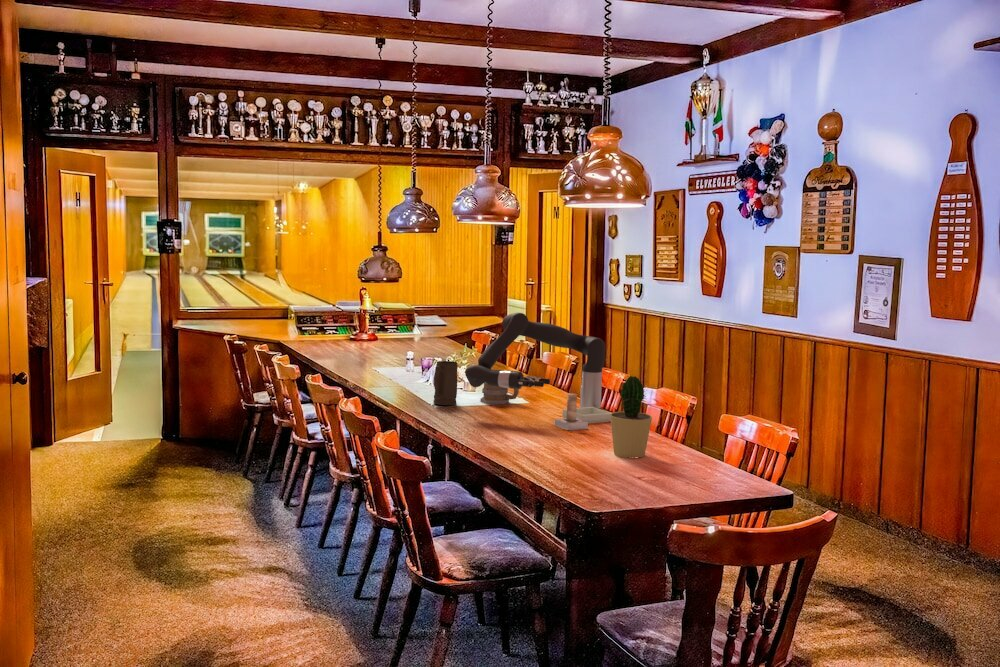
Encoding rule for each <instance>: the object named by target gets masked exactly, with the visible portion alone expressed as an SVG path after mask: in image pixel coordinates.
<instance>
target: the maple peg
mask: <svg viewBox="0 0 1000 667" xmlns="http://www.w3.org/2000/svg"><path fill="white" fill-rule="evenodd" d="M566 399H567V400H566V409H567V418H566V421H568V422H575V421H576V408H578V407H577V405H578V403H577V402H578V401H577V400H578V393H567V398H566Z"/></svg>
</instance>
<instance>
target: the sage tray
mask: <svg viewBox="0 0 1000 667" xmlns="http://www.w3.org/2000/svg"><path fill="white" fill-rule="evenodd" d="M611 413H612V412H610V411H607V410H605V409H601V408H599V409H598V408H595V407H584V408H582V407H576V418H578V419H581V420H584V421H587V422H588V424H599V423H608V422H609V421H610V422H611V416H610V414H611ZM562 418H567V408H564V409H563V408H562Z"/></svg>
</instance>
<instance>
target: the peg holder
mask: <svg viewBox="0 0 1000 667" xmlns="http://www.w3.org/2000/svg"><path fill="white" fill-rule="evenodd" d="M588 424H589V423H588V422H587V421H584V420H581V419H578V418H576V421H575V422H568V421H566V418H564V417H562V418H554V427H556V428H558V429H563V430H564V429H565V430H564V431H567V430H569V431H577V430H578V431H579V429H580V430H587V429H588V427H589V426H588Z"/></svg>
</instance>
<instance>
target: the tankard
mask: <svg viewBox="0 0 1000 667" xmlns="http://www.w3.org/2000/svg"><path fill="white" fill-rule="evenodd" d="M523 376H524V374H523ZM524 377H525V376H524ZM481 390H482V392H481V393H482V394H483V397H481V398H480V402H481V403H483V404H485V403H486V404H487V405H506V404H508V403H509V402H510V400H516V399H517V398H518V396H519V392H520V389H513V394H508V393H509V392H508V391H509V388H504V387H498V386H490V385H488V384H487V383H486V382H484V383H483V387H482V389H481Z"/></svg>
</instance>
